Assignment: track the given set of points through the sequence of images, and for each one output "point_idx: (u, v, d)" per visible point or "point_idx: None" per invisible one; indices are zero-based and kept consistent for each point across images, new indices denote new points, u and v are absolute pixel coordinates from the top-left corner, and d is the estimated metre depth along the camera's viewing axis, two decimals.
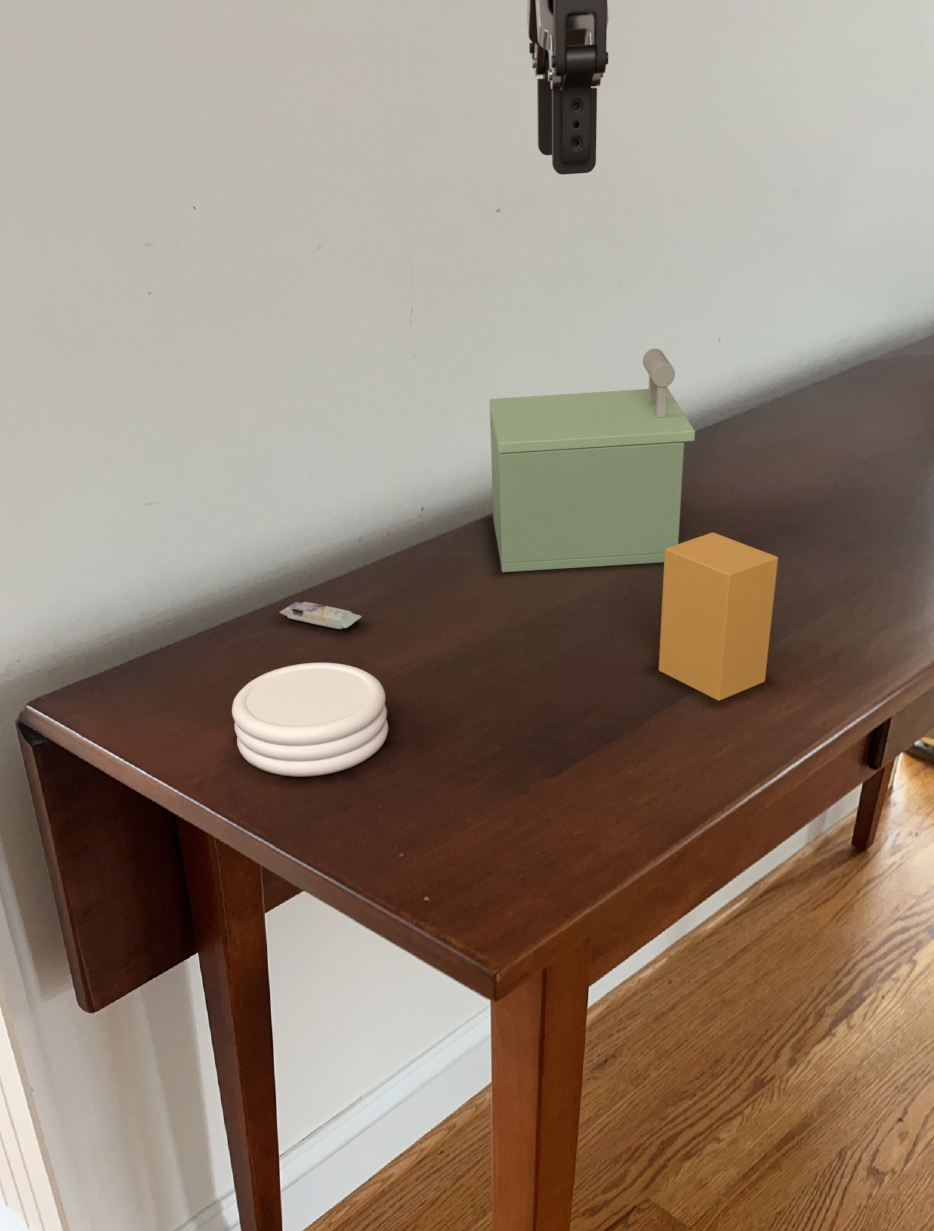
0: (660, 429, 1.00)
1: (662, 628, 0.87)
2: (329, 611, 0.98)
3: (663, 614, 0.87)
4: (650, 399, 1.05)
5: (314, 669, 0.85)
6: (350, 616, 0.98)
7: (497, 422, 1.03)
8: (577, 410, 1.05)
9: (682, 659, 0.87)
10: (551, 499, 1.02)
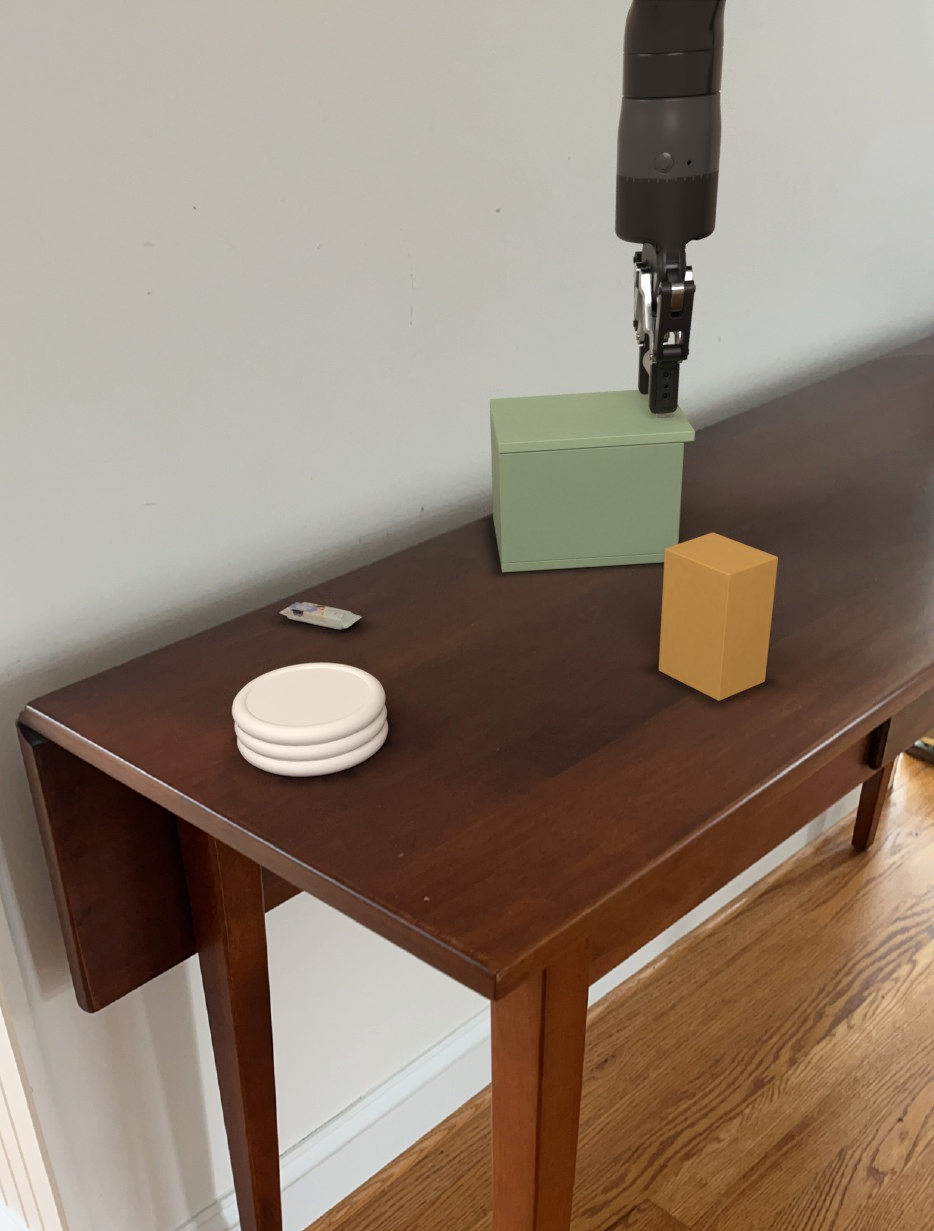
0: (660, 429, 1.00)
1: (662, 628, 0.87)
2: (329, 611, 0.98)
3: (663, 614, 0.87)
4: None
5: (314, 669, 0.85)
6: (350, 616, 0.98)
7: (497, 422, 1.03)
8: (577, 410, 1.05)
9: (682, 659, 0.87)
10: (551, 499, 1.02)
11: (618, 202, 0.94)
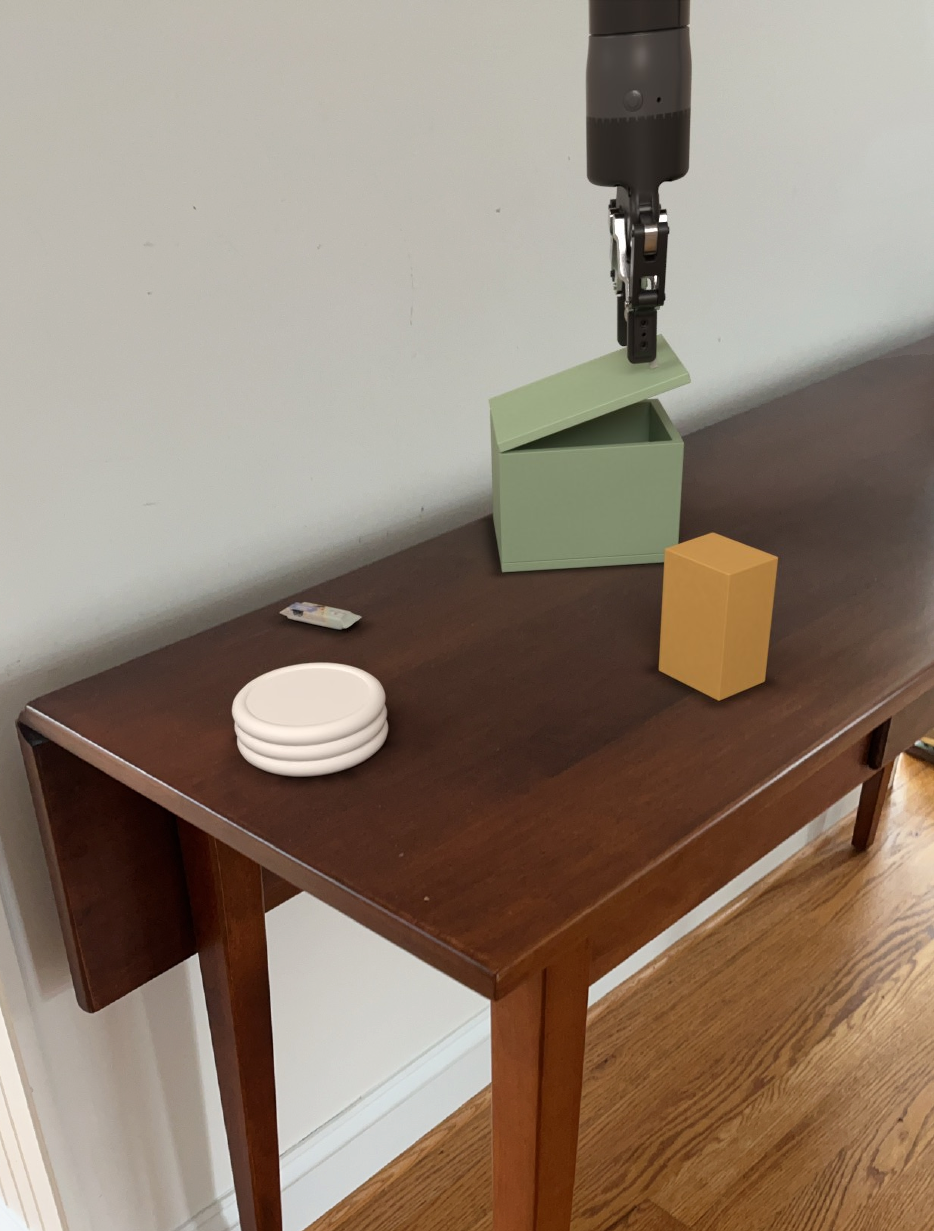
0: (653, 381, 0.97)
1: (662, 628, 0.87)
2: (329, 611, 0.98)
3: (663, 614, 0.87)
4: None
5: (314, 669, 0.85)
6: (350, 616, 0.98)
7: (496, 422, 1.03)
8: (573, 385, 1.04)
9: (682, 659, 0.87)
10: (551, 499, 1.02)
11: (588, 145, 0.92)
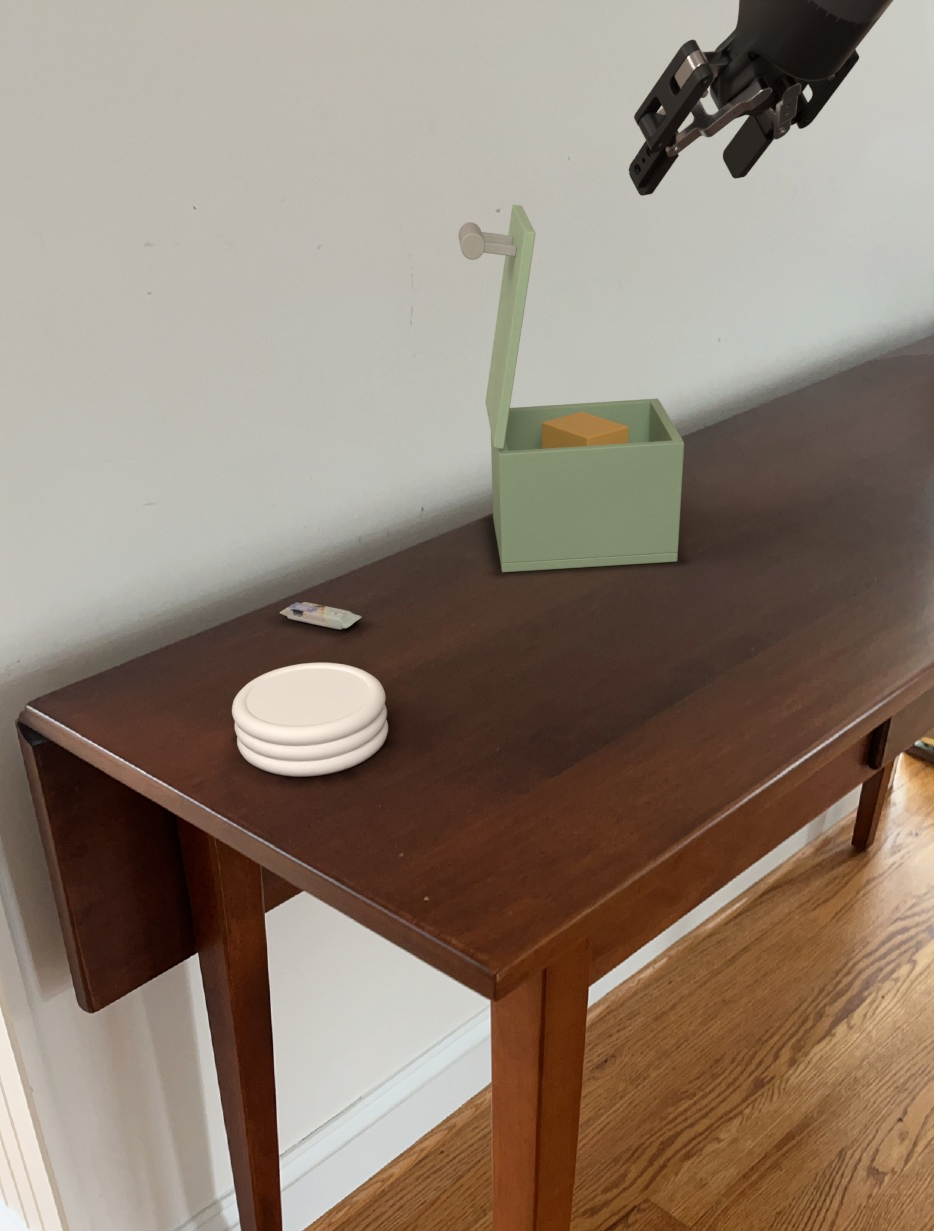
0: (518, 268, 0.92)
1: None
2: (329, 611, 0.98)
3: None
4: None
5: (314, 669, 0.85)
6: (350, 616, 0.98)
7: (490, 424, 1.03)
8: (500, 330, 1.01)
9: None
10: (551, 499, 1.02)
11: (853, 46, 0.73)
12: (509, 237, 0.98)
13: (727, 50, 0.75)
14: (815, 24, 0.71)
